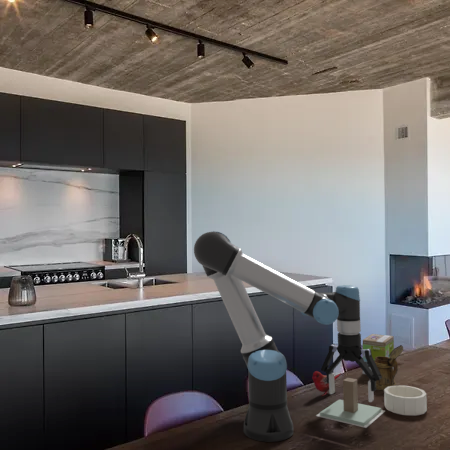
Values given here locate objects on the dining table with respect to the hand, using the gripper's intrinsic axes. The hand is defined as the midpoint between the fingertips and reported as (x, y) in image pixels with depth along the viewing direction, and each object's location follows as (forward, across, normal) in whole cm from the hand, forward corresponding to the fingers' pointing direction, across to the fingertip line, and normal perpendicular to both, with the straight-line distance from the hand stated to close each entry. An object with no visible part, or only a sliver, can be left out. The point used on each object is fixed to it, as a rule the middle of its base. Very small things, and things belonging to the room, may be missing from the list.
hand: (351, 396), depth 159 cm
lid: (+5, 0, 0) cm, 5 cm away
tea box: (+6, +10, -53) cm, 54 cm away
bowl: (+6, -13, -15) cm, 20 cm away
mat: (+6, 0, 0) cm, 6 cm away
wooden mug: (+6, -1, -33) cm, 33 cm away
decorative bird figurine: (+6, +15, -13) cm, 21 cm away
